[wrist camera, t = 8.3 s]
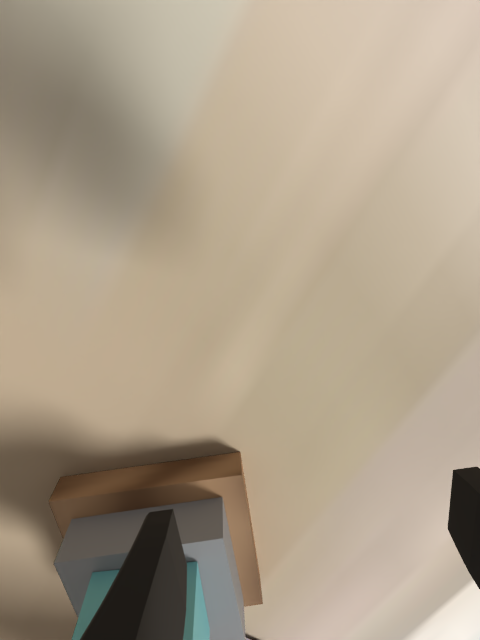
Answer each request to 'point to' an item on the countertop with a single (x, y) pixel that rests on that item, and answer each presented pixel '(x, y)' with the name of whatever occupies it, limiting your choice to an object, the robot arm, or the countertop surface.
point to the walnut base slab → (168, 500)
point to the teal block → (195, 603)
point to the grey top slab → (198, 545)
